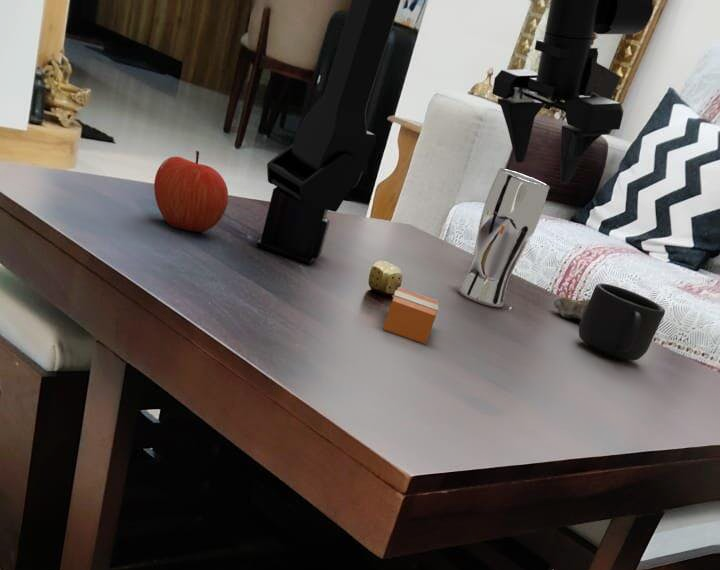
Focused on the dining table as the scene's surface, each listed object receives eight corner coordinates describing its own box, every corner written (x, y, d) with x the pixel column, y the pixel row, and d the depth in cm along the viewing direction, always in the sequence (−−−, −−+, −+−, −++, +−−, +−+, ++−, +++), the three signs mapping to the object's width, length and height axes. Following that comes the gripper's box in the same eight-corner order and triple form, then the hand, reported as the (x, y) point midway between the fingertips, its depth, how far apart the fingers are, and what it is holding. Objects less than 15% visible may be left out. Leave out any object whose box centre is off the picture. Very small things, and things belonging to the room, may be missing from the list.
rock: (631, 337, 138) (577, 296, 141) (652, 301, 134) (596, 260, 136) (598, 354, 133) (543, 311, 136) (619, 317, 128) (562, 273, 131)
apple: (150, 227, 106) (165, 147, 102) (146, 209, 112) (159, 133, 108) (223, 246, 109) (240, 170, 105) (215, 227, 115) (231, 154, 111)
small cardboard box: (382, 329, 100) (392, 299, 99) (388, 314, 106) (397, 285, 105) (426, 344, 101) (436, 315, 99) (429, 328, 107) (439, 300, 105)
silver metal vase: (503, 313, 125) (551, 189, 117) (452, 293, 125) (496, 169, 117) (507, 303, 131) (552, 185, 123) (457, 284, 131) (499, 165, 123)
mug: (567, 331, 128) (591, 277, 124) (632, 353, 129) (656, 299, 125) (582, 358, 117) (608, 299, 114) (652, 381, 119) (679, 324, 115)
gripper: (671, 50, 117) (635, 189, 127) (568, 19, 128) (543, 149, 138) (602, 51, 112) (570, 196, 122) (501, 18, 123) (479, 153, 133)
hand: (541, 172), depth 129 cm, fingers open, 9 cm apart
